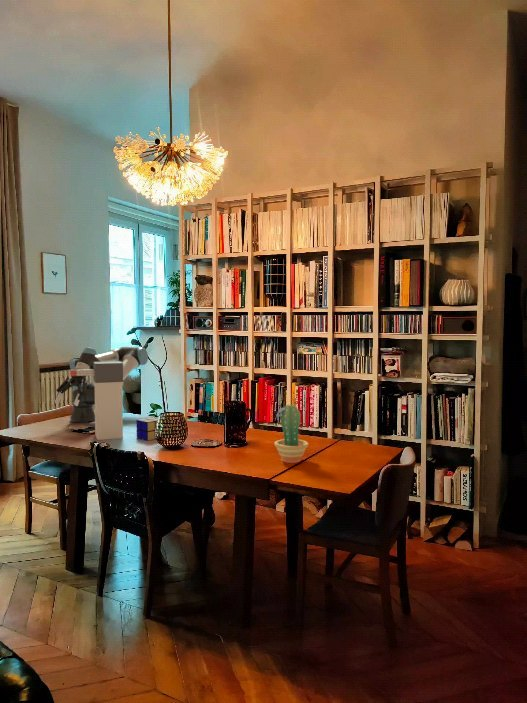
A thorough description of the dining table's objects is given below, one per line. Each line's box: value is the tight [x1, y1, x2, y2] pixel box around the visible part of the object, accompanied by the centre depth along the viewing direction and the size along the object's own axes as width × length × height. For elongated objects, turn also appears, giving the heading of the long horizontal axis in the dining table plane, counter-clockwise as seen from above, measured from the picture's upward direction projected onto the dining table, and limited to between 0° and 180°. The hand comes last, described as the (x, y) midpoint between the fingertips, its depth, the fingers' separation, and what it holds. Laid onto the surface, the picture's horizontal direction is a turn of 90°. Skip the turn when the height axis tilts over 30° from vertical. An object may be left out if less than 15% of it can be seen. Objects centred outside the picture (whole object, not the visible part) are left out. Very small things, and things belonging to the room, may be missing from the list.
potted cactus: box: [274, 404, 309, 464], centre depth 243 cm, size 15×16×25 cm
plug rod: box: [69, 369, 95, 377], centre depth 285 cm, size 25×3×3 cm, turn 112°
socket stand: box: [92, 361, 124, 441], centre depth 288 cm, size 14×14×40 cm
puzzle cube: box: [136, 417, 159, 442], centre depth 286 cm, size 10×10×10 cm
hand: (65, 404), depth 301 cm, fingers open, 13 cm apart
